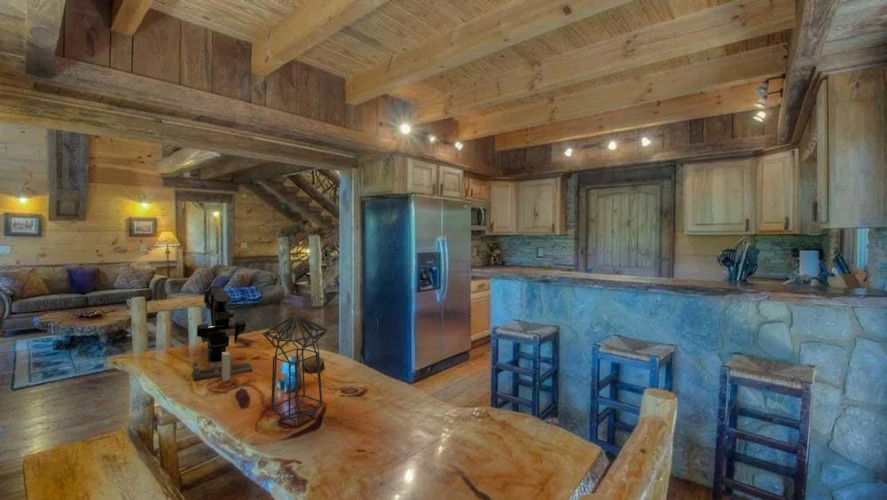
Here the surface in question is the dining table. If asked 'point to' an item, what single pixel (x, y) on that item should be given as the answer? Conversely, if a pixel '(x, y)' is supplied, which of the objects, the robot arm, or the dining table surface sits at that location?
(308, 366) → the brown rough lump
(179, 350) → the dining table surface
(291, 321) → the geometric lantern
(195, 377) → the stand
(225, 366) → the rectangular block
